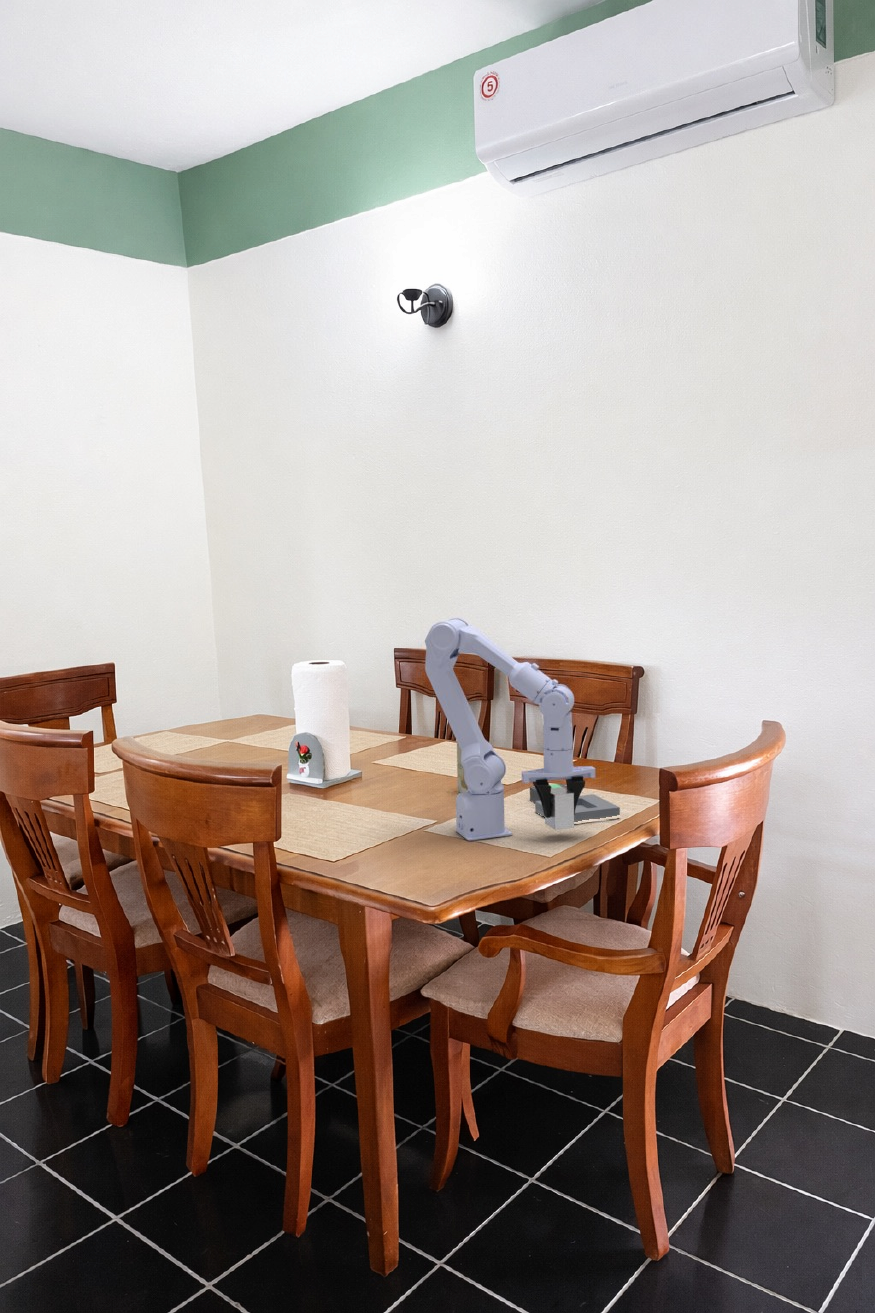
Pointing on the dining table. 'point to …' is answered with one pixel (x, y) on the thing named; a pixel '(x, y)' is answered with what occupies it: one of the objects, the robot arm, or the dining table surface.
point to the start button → (555, 786)
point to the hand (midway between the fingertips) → (559, 815)
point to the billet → (561, 809)
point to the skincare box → (460, 772)
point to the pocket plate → (588, 808)
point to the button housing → (534, 794)
